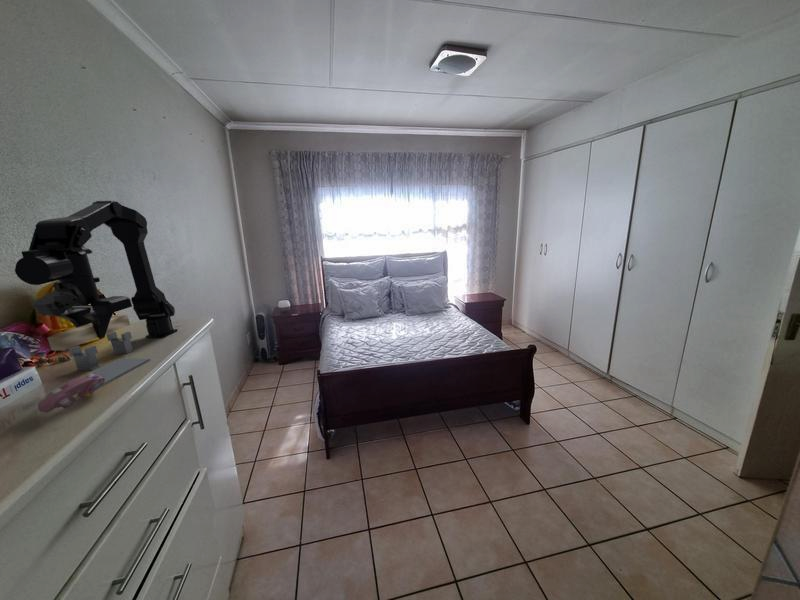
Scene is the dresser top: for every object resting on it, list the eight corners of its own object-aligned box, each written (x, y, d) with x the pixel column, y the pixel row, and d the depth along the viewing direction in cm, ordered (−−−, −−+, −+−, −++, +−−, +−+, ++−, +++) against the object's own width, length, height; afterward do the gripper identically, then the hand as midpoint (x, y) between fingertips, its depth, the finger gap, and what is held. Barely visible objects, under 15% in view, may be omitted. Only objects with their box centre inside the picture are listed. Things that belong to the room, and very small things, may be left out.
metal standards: (118, 350, 94) (112, 331, 92) (135, 350, 93) (130, 331, 92) (75, 370, 82) (68, 349, 80) (94, 370, 82) (87, 349, 80)
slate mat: (120, 359, 87) (120, 358, 87) (150, 360, 87) (149, 358, 86) (55, 391, 72) (54, 389, 72) (90, 392, 71) (90, 390, 71)
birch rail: (119, 325, 84) (116, 314, 83) (130, 325, 84) (127, 314, 83) (51, 350, 69) (47, 337, 68) (63, 350, 69) (59, 337, 68)
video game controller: (51, 423, 63) (56, 401, 60) (33, 410, 63) (37, 387, 61) (105, 395, 72) (111, 374, 70) (89, 383, 72) (94, 363, 70)
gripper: (-6, 284, 65) (20, 352, 70) (74, 283, 64) (97, 352, 68) (54, 273, 76) (74, 333, 80) (125, 272, 75) (141, 333, 79)
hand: (95, 338), depth 77 cm, fingers closed on birch rail, 3 cm apart
